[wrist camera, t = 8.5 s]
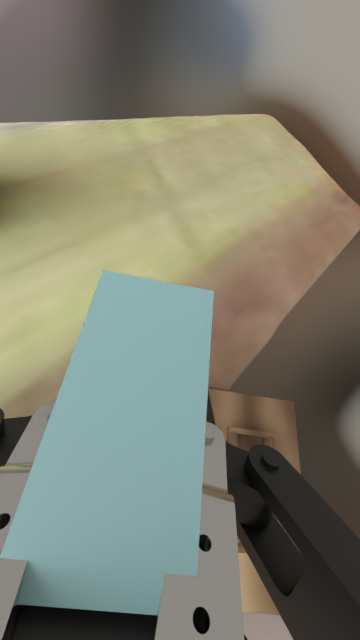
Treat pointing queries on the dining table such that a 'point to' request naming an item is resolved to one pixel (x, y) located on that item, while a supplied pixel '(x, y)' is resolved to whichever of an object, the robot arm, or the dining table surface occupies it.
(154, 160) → the dining table surface
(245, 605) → the offcut top
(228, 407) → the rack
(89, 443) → the teal rectangular block
